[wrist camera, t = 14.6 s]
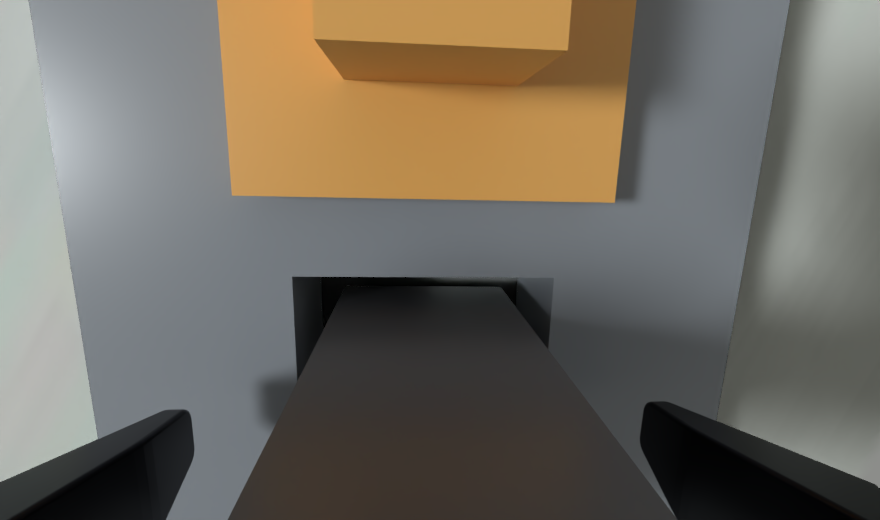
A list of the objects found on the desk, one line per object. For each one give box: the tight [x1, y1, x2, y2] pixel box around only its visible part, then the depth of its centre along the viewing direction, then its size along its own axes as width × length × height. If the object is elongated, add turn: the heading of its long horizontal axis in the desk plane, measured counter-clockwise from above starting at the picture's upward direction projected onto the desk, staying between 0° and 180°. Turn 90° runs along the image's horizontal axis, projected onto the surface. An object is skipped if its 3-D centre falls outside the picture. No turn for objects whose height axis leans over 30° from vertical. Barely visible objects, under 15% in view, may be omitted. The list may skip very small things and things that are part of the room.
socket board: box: [29, 0, 790, 520], centre depth 11 cm, size 15×14×3 cm
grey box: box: [228, 286, 677, 520], centre depth 8 cm, size 4×4×9 cm
